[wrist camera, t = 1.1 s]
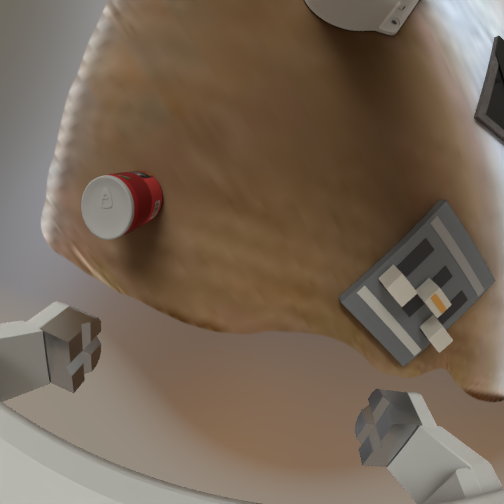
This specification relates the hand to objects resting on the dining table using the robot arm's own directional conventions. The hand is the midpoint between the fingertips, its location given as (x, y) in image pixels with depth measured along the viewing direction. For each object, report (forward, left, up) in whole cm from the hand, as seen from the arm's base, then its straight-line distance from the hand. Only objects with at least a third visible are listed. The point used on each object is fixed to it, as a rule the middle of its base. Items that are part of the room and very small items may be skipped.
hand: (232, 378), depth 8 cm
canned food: (+13, -15, -38) cm, 43 cm away
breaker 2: (-5, +32, -36) cm, 48 cm away
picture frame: (-44, +15, -39) cm, 60 cm away
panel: (-8, +26, -38) cm, 47 cm away
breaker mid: (-8, +26, -36) cm, 45 cm away
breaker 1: (-5, +20, -36) cm, 41 cm away
